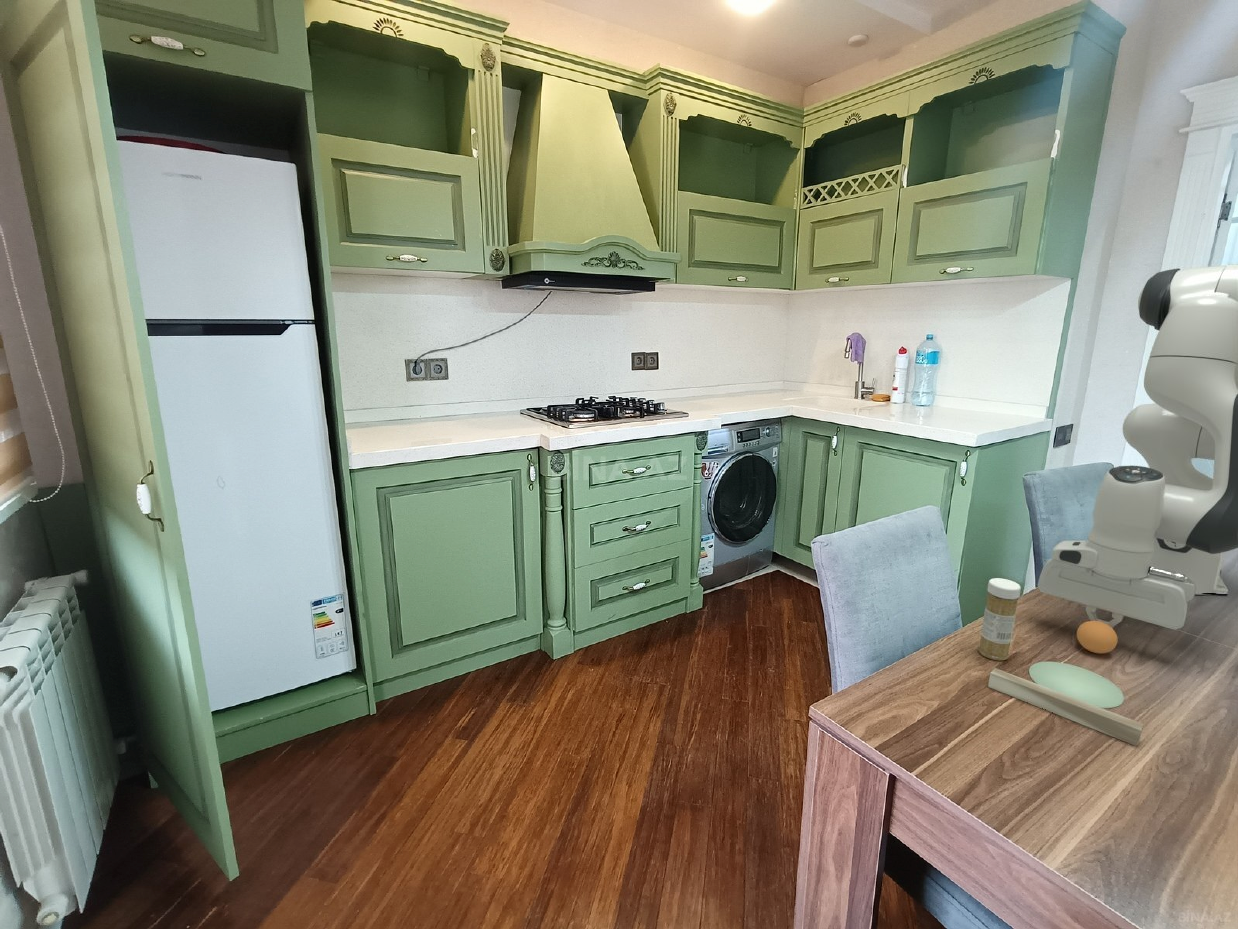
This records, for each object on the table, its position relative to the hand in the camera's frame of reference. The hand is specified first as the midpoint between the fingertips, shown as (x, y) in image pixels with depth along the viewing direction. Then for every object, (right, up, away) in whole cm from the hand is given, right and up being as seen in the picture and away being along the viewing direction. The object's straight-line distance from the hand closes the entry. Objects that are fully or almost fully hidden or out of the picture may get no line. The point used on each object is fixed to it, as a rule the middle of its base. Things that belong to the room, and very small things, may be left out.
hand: (1100, 631), depth 105 cm
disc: (-14, -5, -12) cm, 19 cm away
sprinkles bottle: (-22, -3, -4) cm, 22 cm away
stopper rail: (-21, -7, -19) cm, 29 cm away
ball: (-3, 0, -3) cm, 5 cm away
